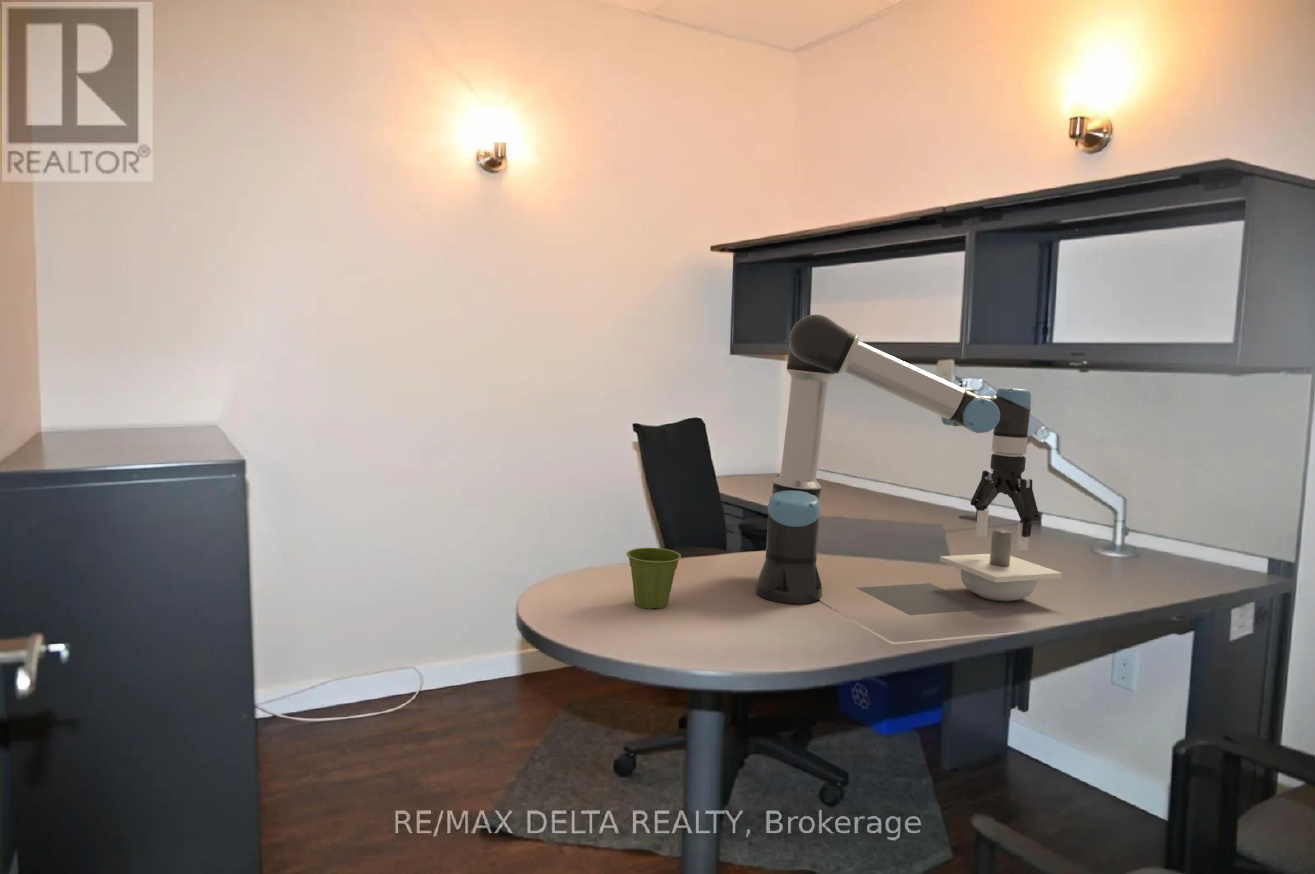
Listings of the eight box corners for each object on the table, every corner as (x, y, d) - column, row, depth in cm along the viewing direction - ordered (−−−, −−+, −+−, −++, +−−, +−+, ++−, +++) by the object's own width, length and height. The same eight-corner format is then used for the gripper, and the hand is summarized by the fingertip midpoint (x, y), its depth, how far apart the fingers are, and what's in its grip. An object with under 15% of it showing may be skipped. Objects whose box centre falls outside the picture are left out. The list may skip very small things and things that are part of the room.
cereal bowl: (946, 595, 205) (948, 566, 204) (976, 584, 216) (979, 556, 216) (1017, 613, 193) (1020, 582, 192) (1045, 600, 205) (1048, 571, 204)
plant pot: (620, 610, 182) (622, 558, 181) (629, 594, 194) (631, 545, 192) (675, 615, 180) (678, 562, 179) (681, 599, 192) (684, 549, 191)
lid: (995, 582, 192) (999, 541, 191) (939, 561, 209) (942, 523, 208) (1061, 577, 198) (1065, 538, 197) (1002, 557, 216) (1005, 521, 215)
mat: (909, 616, 186) (909, 614, 186) (856, 589, 206) (856, 587, 206) (988, 611, 194) (988, 608, 193) (929, 585, 213) (929, 583, 213)
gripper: (1062, 461, 191) (1053, 555, 193) (984, 447, 214) (977, 531, 216) (1035, 461, 188) (1026, 556, 190) (960, 447, 211) (953, 531, 214)
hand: (1000, 543), depth 203 cm, fingers open, 13 cm apart
